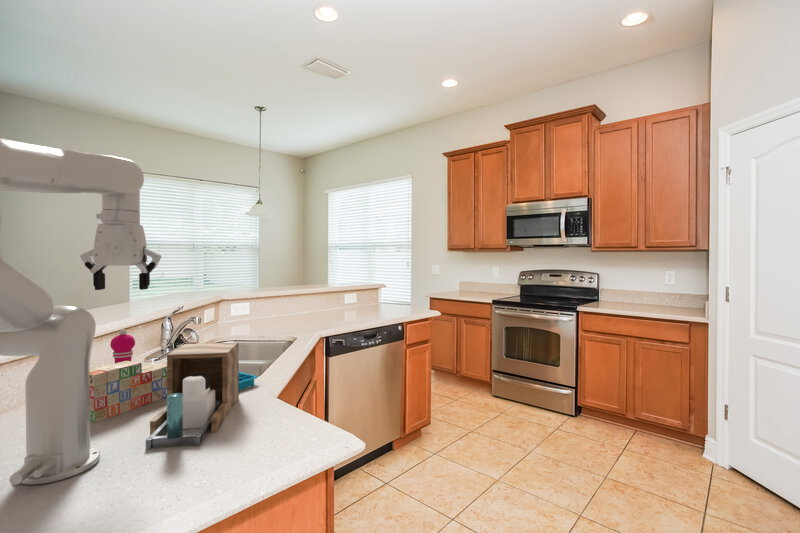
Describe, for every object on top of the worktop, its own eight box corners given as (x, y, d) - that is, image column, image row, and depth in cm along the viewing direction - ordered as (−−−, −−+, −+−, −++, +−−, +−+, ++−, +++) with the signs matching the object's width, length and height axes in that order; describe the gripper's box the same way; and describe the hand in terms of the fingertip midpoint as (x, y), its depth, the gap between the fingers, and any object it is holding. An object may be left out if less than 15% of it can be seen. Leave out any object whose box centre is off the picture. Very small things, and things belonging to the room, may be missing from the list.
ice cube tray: (220, 376, 141) (220, 367, 141) (259, 385, 130) (259, 376, 130) (188, 385, 131) (188, 375, 131) (228, 396, 120) (227, 386, 120)
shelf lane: (216, 432, 94) (216, 362, 94) (150, 436, 92) (149, 365, 92) (238, 398, 117) (238, 342, 117) (185, 401, 115) (185, 344, 114)
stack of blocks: (157, 393, 122) (157, 353, 122) (172, 396, 119) (171, 355, 119) (78, 419, 102) (78, 371, 102) (94, 423, 100) (93, 374, 99)
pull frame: (199, 446, 87) (198, 396, 87) (144, 450, 85) (144, 399, 85) (221, 414, 105) (221, 372, 105) (176, 417, 103) (176, 374, 103)
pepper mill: (142, 395, 119) (142, 328, 119) (115, 402, 113) (114, 332, 113) (130, 391, 123) (130, 326, 123) (103, 398, 117) (103, 329, 117)
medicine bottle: (186, 418, 103) (185, 371, 102) (215, 416, 104) (215, 370, 104) (175, 430, 96) (175, 380, 95) (207, 428, 97) (207, 378, 97)
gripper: (71, 216, 92) (72, 291, 92) (153, 218, 95) (154, 290, 95) (90, 219, 99) (91, 288, 100) (166, 221, 102) (166, 288, 103)
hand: (122, 289), depth 98 cm, fingers open, 9 cm apart
